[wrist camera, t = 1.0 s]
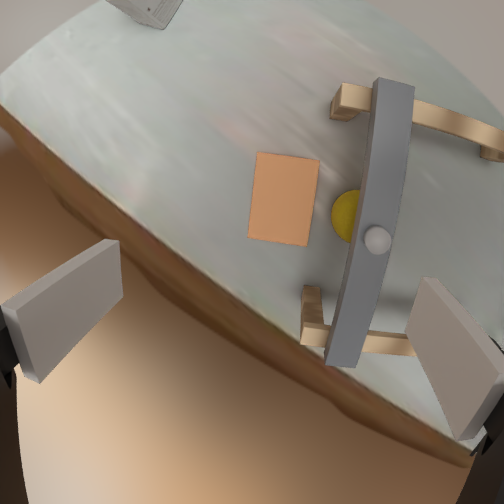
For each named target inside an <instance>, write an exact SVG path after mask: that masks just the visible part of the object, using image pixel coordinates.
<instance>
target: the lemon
mask: <svg viewBox="0 0 504 504" xmlns="http://www.w3.org/2000/svg"><path fill="white" fill-rule="evenodd" d="M359 194H360V190H352V191H347V192H346V193H344V194H342V195H341V196H340V197H339V198H338V199H337V200H336V201H335V203H334V205H333V208H332V211H331V220H332V225H333V227H334V230H335V231H336V233H337V234H338V235H339V237H341V238H342V239H343V240H345V241H346V242H349V243H351V238H352V233H353V228H354V223H355V217H356V212H357V206H358V200H359Z"/></svg>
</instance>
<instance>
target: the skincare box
mask: <svg viewBox="0 0 504 504" xmlns="http://www.w3.org/2000/svg"><path fill="white" fill-rule="evenodd" d="M106 1H107V2H109V3H110V4H112V5H113V6H115V7H116V8H118V9H119V10H121V11H122V12H124V13H125V14H127V15H128V16H130V17H131V18H133V19H134V20H135V21H137V22H138V23H139V24H143V25H147V26H151V27H155V28H159V29H164V28H165V27H166V26H167V24H168V23H169V21H170V20H171V18H172V17H173V15H174V14H175V12H176V10H177V9H178V7H179V5H180V4H181V2H182V1H183V0H106Z"/></svg>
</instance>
